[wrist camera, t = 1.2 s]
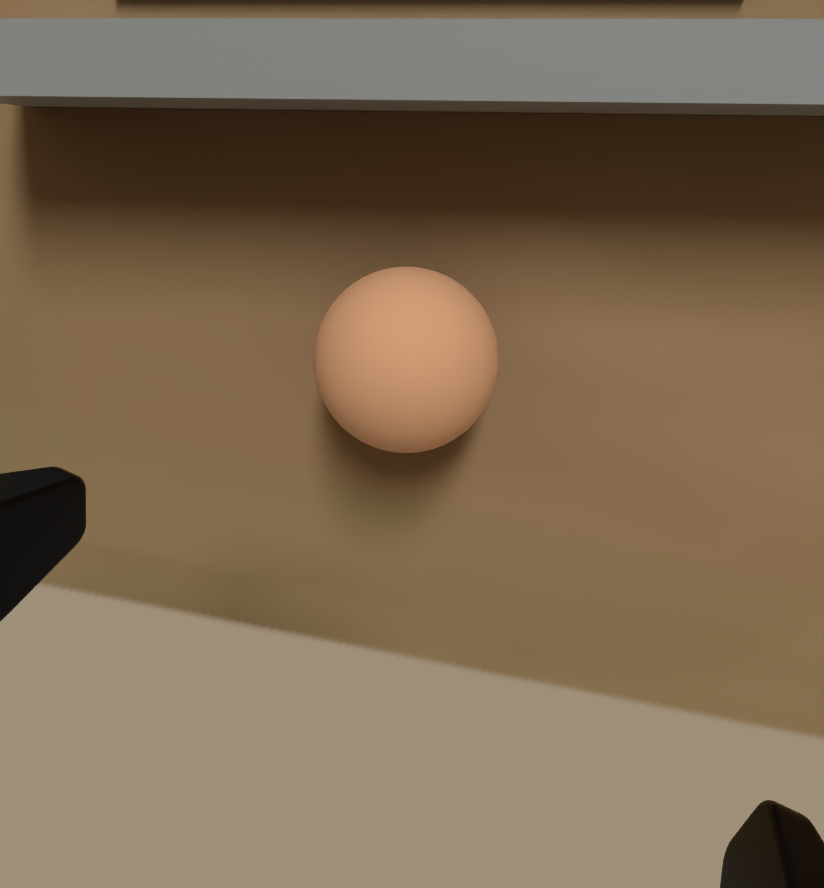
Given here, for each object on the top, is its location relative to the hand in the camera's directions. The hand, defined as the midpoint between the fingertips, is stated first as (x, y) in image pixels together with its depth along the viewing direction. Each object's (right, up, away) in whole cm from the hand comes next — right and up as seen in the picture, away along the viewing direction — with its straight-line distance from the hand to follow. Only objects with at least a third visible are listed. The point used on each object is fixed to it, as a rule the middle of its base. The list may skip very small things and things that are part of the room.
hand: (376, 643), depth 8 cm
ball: (0, +5, +10) cm, 11 cm away
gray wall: (+2, +12, +10) cm, 15 cm away
